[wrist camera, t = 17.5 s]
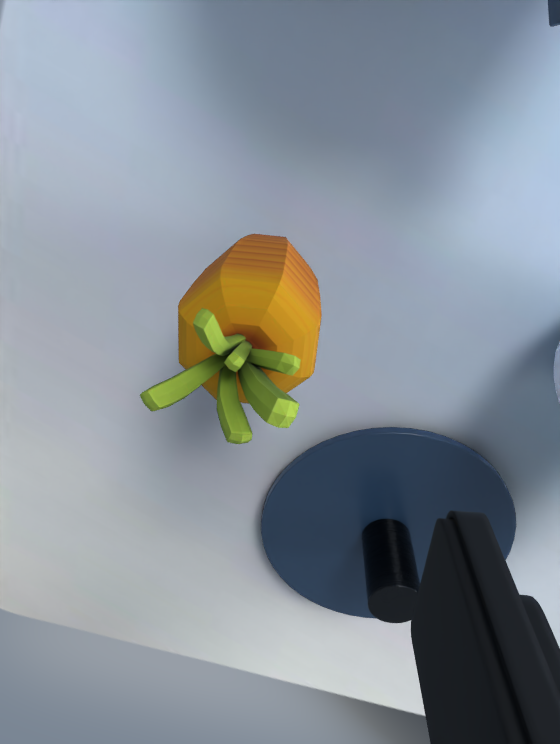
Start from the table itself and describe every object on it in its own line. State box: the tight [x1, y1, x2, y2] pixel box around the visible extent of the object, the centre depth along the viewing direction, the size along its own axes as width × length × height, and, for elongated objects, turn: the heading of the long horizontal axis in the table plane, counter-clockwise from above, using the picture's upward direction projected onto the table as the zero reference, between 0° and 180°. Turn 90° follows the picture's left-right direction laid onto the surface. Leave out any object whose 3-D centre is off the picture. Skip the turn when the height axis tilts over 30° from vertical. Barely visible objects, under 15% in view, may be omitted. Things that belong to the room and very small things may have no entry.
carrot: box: [140, 234, 321, 444], centre depth 20 cm, size 5×5×15 cm
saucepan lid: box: [261, 427, 516, 623], centre depth 31 cm, size 16×16×6 cm
